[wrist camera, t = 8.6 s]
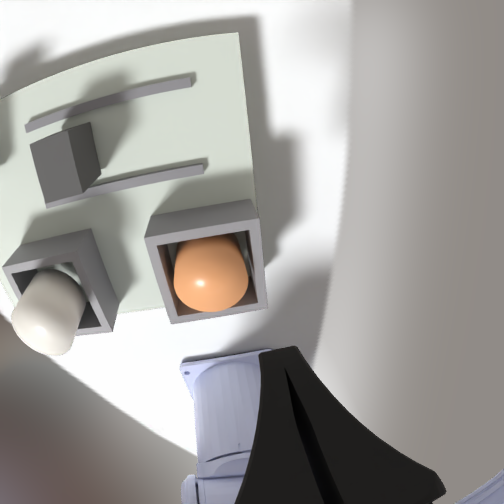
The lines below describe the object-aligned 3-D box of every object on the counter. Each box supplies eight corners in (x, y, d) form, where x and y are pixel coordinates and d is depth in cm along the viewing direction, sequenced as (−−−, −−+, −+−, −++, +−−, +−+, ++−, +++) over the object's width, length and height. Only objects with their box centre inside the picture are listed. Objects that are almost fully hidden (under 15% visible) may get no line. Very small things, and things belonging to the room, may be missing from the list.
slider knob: (101, 173, 14) (82, 193, 12) (68, 182, 14) (45, 203, 12) (90, 121, 13) (67, 130, 10) (56, 132, 13) (29, 144, 10)
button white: (94, 316, 16) (83, 354, 14) (47, 322, 16) (32, 357, 13) (71, 263, 14) (52, 299, 12) (22, 273, 14) (0, 306, 12)
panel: (259, 273, 22) (273, 317, 18) (33, 308, 20) (12, 349, 16) (233, 38, 14) (246, 21, 10) (-34, 123, 12) (-77, 139, 8)
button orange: (243, 273, 19) (251, 305, 16) (183, 283, 18) (183, 316, 16) (236, 218, 17) (243, 244, 14) (170, 229, 17) (165, 257, 14)
